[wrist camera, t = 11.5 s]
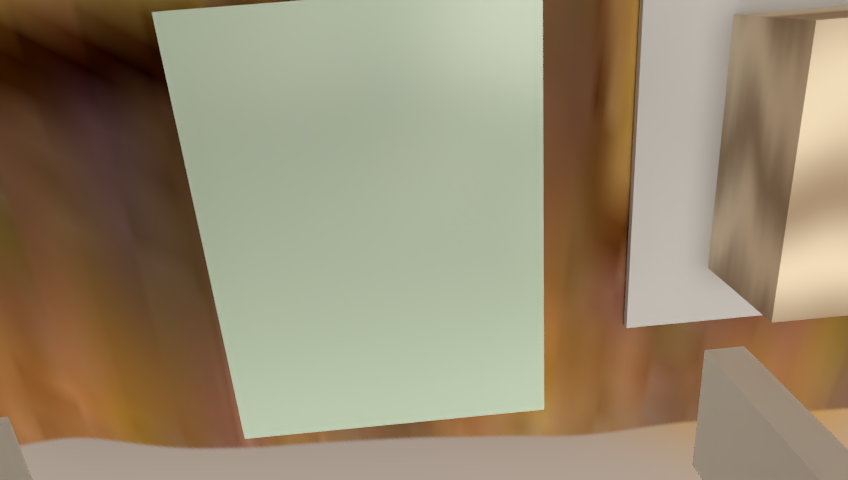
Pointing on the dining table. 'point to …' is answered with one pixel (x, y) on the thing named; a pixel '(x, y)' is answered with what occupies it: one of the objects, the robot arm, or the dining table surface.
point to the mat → (681, 158)
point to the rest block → (785, 165)
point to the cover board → (367, 204)
